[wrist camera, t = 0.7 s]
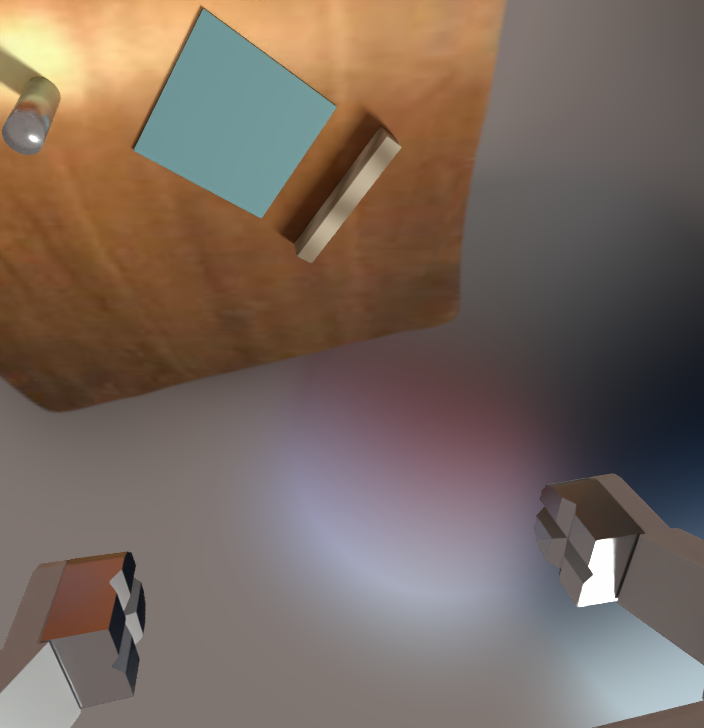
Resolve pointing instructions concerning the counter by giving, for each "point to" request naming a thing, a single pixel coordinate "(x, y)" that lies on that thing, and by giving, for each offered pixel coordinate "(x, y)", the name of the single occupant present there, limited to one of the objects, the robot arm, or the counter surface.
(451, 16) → the counter surface
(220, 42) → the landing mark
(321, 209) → the stopper strip
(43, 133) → the post
